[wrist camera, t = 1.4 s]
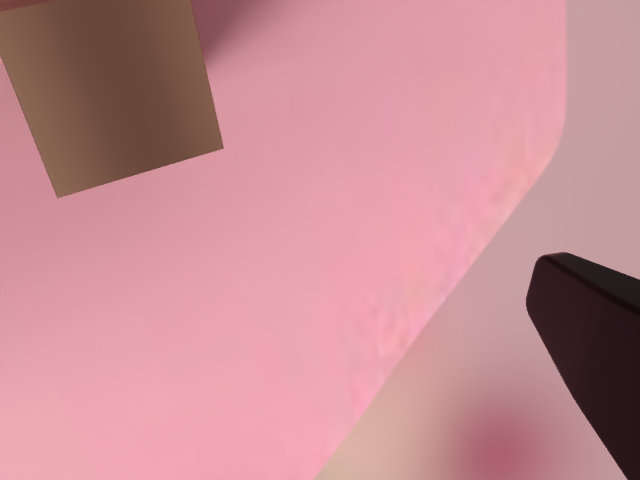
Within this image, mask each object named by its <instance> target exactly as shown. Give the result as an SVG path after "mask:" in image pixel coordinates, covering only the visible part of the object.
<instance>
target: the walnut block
mask: <svg viewBox="0 0 640 480" xmlns="http://www.w3.org/2000/svg"><path fill="white" fill-rule="evenodd" d="M0 55H1V58H2V60H3V63H4V65H5V68H6V70H7V73H8V75H9V78H10V80H11V83H12V85H13V88H14V90H15V93H16V95H17V98H18V100H19V103H20V105H21V108H22V111H23V113H24V116H25V118H26V121H27V123H28V126H29V128H30V131H31V133H32V136H33V138H34V141H35V143H36V146H37V148H38V151H39V153H40V156H41V158H42V161H43V163H44V166H45V168H46V171H47V173H48V176H49V178H50V181H51V183H52V186H53V188H54V191H55V193H56V196H57V198H59V197H63V196H66V195H69V194H73V193H76V192H80V191H83V190H86V189H90V188H93V187H96V186H100V185H103V184H106V183H110V182H113V181H116V180H120V179H123V178H126V177H130V176H133V175H136V174H140V173H143V172H146V171H150V170H153V169H156V168H160V167H163V166H166V165H170V164H173V163H176V162H180V161H183V160H186V159H190V158H193V157H196V156H200V155H203V154H206V153H210V152H213V151H217V150H220V149H223V148H224V147H223V143H222V138H221V134H220V129H219V125H218V121H217V116H216V112H215V107H214V103H213V98H212V94H211V89H210V85H209V80H208V76H207V71H206V67H205V62H204V58H203V53H202V49H201V45H200V40H199V36H198V31H197V27H196V22H195V18H194V13H193V9H192V4H191V0H0Z"/></svg>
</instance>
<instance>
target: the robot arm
mask: <svg viewBox="0 0 640 480" xmlns="http://www.w3.org/2000/svg"><path fill="white" fill-rule="evenodd" d="M526 307H527V311H528V314H529V316H530V318H531V320H532V322H533V324H534V326H535V327H536V329H537V331H538V333H539V335H540V337H541V339H542V341H543V343H544V344H545V347H546V348H547V350H548V352H549V354H550V356H551V358H552V360H553V362H554V363H555V365H556V367H557V369H558V371H559V373H560V375H561V377H562V378H563V380H564V382H565V384H566V386H567V388H568V389H569V391H570V393H571V394H572V396H573V398H574V400H575V401H576V403H577V404H578V406H579V408H580V409H581V411H582V412H583V414H584V415H585V417H586V418H587V420H588V421H589V423H590V424H591V426H592V427H593V428H594V430H595V432H596V433H597V435H598V436H599V438H600V439H601V441H602V442H603V444H604V445H605V447H606V448H607V450H608V451H609V453H610V454H611V456H612V457H613V459H614V460H615V462H616V463H617V465H618V466H619V468H620V469H621V470H622V472H623V474H624V475H625V476H626V478H627V479H628V480H640V280H639V279H636V278H634V277H631V276H628V275H626V274H623V273H620V272H618V271H615V270H612V269H610V268H607V267H604V266H602V265H599V264H596V263H593V262H591V261H589V260H586V259H583V258H581V257H578V256H575V255H573V254H570V253H566V252H560V253H553V254H547V255H543V256H541V257H539V258H538V260H537V261H536V263H535V267H534V270H533V274H532V278H531V281H530V286H529V289H528V293H527V297H526Z"/></svg>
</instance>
